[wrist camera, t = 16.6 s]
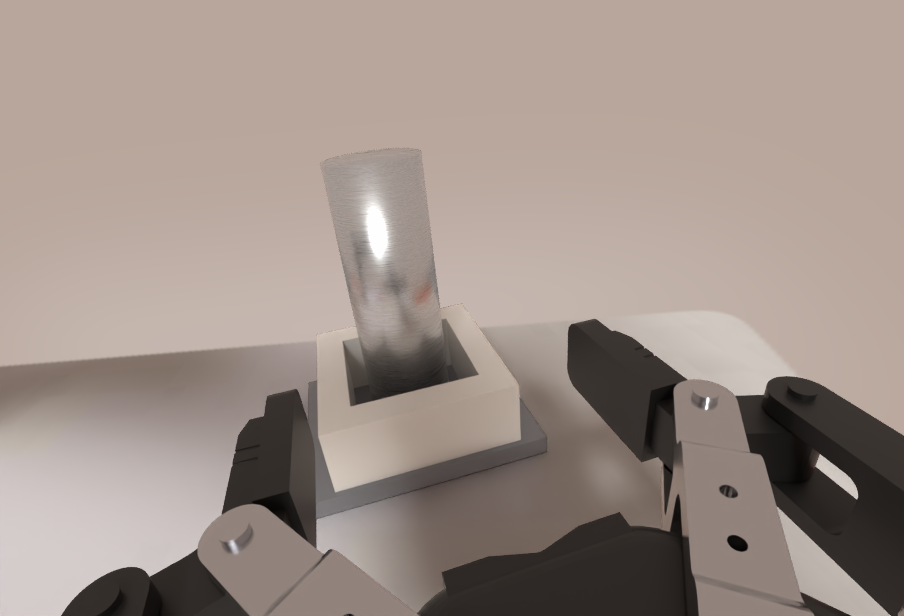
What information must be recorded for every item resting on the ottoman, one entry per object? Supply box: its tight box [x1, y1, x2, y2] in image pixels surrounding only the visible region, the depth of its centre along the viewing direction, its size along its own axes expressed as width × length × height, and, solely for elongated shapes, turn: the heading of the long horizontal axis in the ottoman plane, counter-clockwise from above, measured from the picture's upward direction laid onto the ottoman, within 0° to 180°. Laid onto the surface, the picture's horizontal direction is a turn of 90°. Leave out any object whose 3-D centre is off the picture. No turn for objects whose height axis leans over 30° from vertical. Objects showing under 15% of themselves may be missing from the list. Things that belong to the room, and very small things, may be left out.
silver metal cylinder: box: [320, 148, 449, 401], centre depth 23 cm, size 4×4×14 cm
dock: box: [308, 304, 547, 519], centre depth 26 cm, size 12×10×4 cm
